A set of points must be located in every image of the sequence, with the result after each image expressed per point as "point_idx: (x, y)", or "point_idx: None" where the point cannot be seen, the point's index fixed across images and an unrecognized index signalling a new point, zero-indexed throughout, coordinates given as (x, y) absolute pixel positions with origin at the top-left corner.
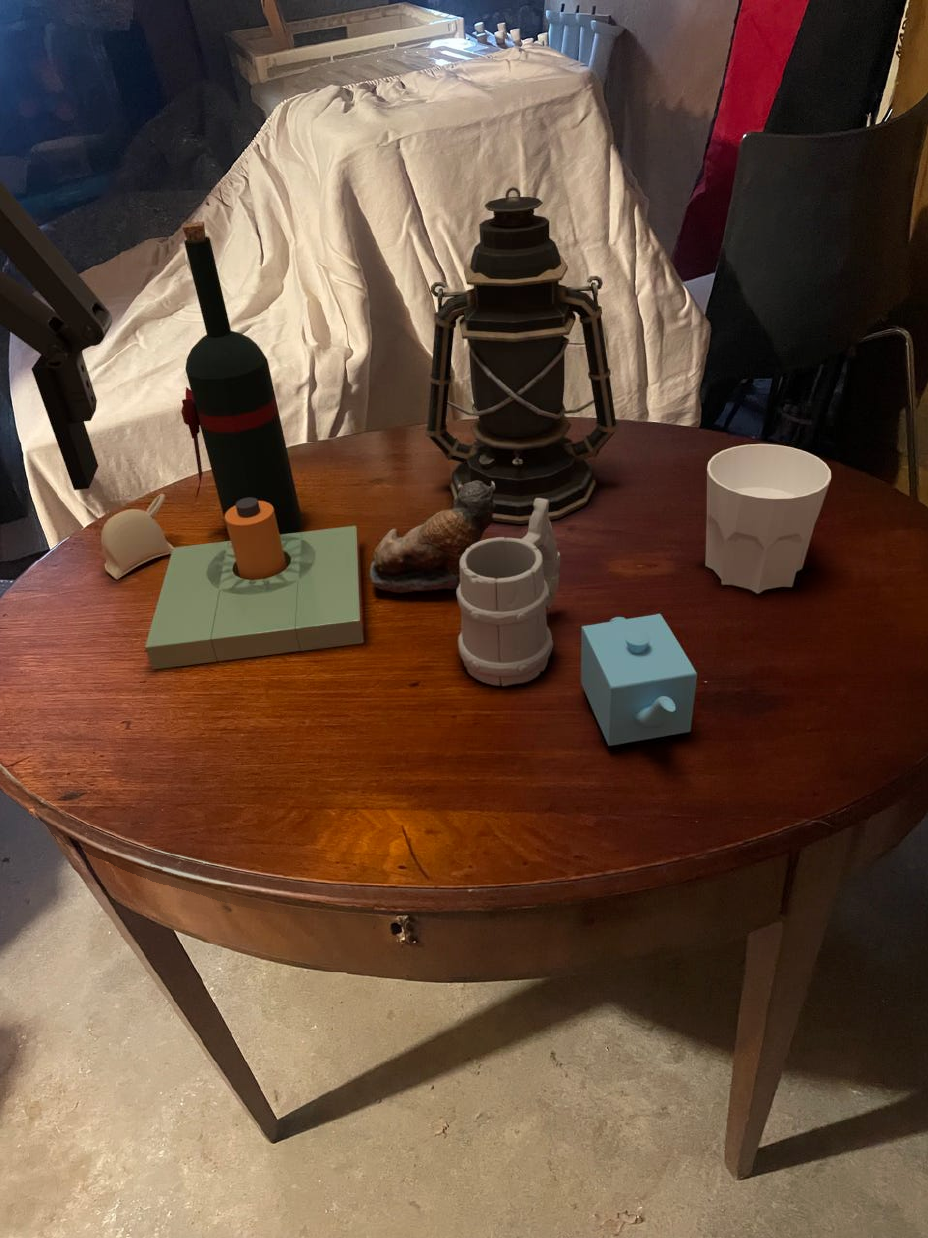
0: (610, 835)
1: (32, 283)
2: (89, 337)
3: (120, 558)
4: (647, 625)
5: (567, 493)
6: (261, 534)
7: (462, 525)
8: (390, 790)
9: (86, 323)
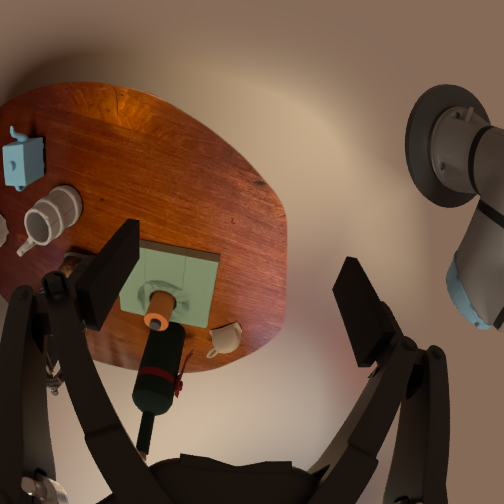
0: (55, 97)
1: (21, 348)
2: (22, 289)
3: (232, 330)
4: (9, 179)
5: (43, 291)
6: (152, 308)
7: (60, 270)
8: (118, 136)
9: (17, 301)
